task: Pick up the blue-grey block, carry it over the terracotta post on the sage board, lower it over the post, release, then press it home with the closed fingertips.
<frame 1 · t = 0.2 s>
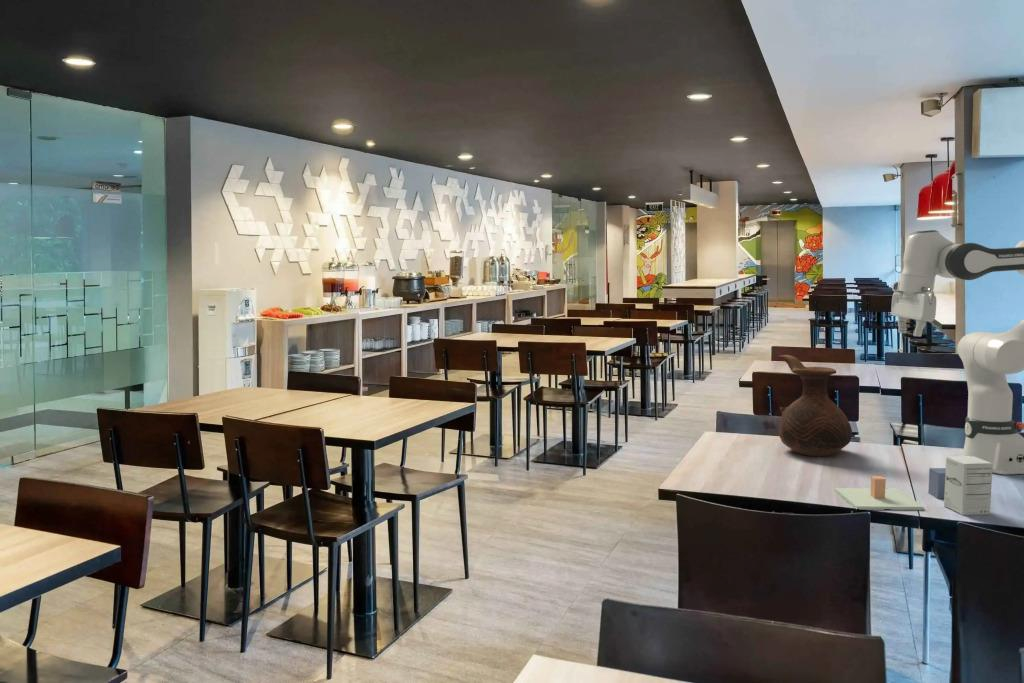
hand: (909, 334, 234), 39 cm above the table, tool pointing down, fingers open, 8 cm apart
jug: (813, 452, 257), on the table
blue-grey block: (943, 495, 209), on the table
supplement box: (966, 511, 197), on the table
post board: (877, 500, 206), on the table
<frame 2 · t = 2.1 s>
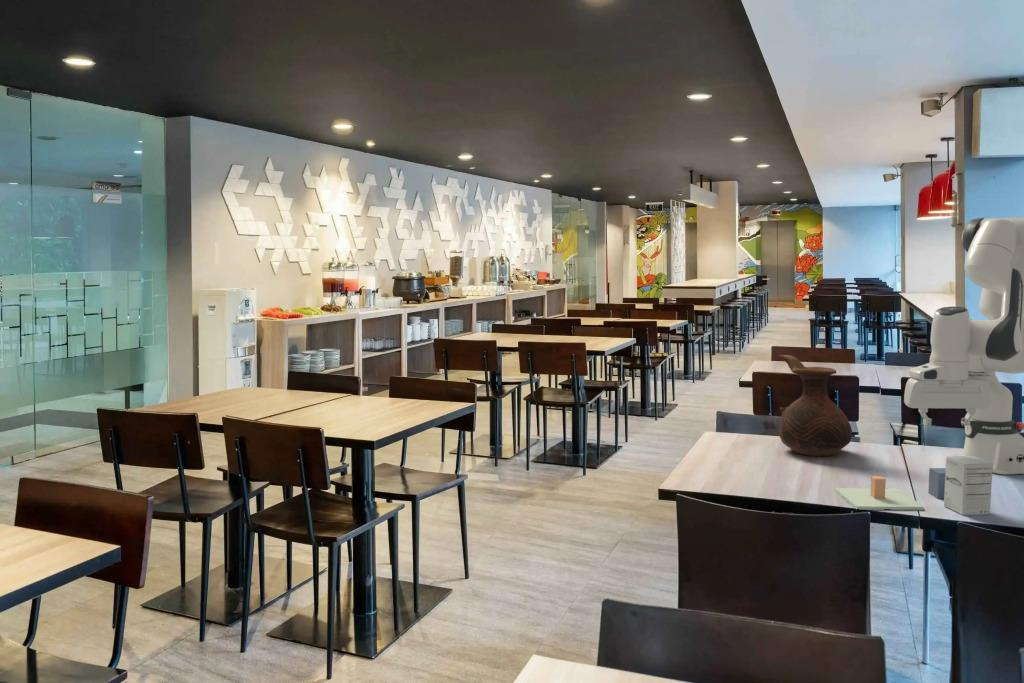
hand: (946, 425, 207), 18 cm above the table, tool pointing down, fingers open, 8 cm apart
nothing on the table moved.
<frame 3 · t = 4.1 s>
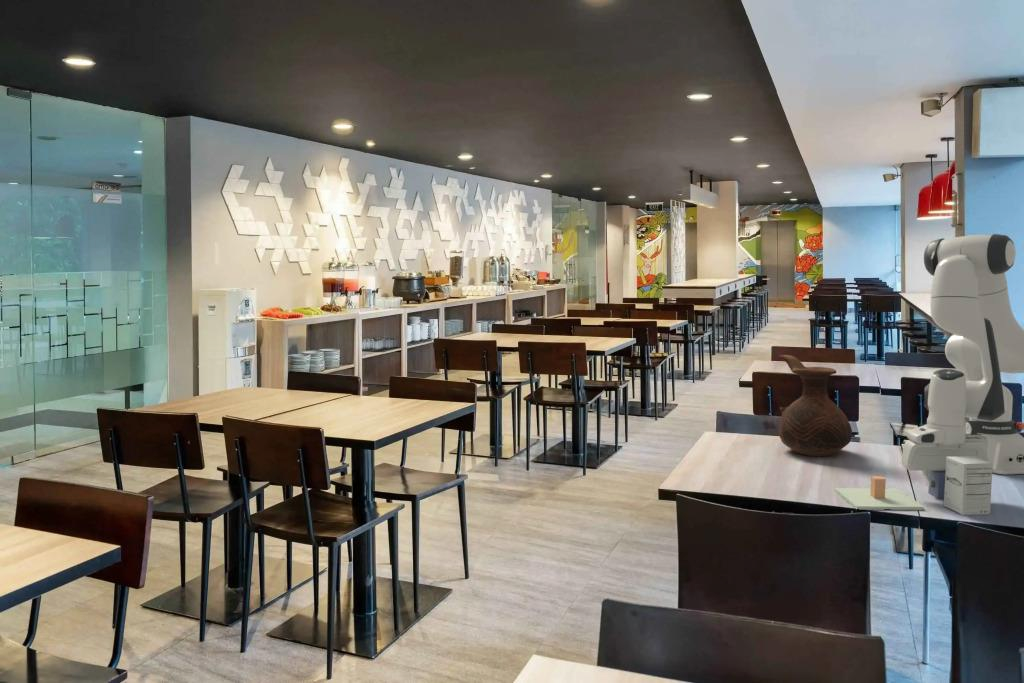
hand: (943, 487, 208), 2 cm above the table, tool pointing down, fingers closed on blue-grey block, 5 cm apart
blue-grey block: (943, 495, 209), on the table, touching gripper
everything else where it was.
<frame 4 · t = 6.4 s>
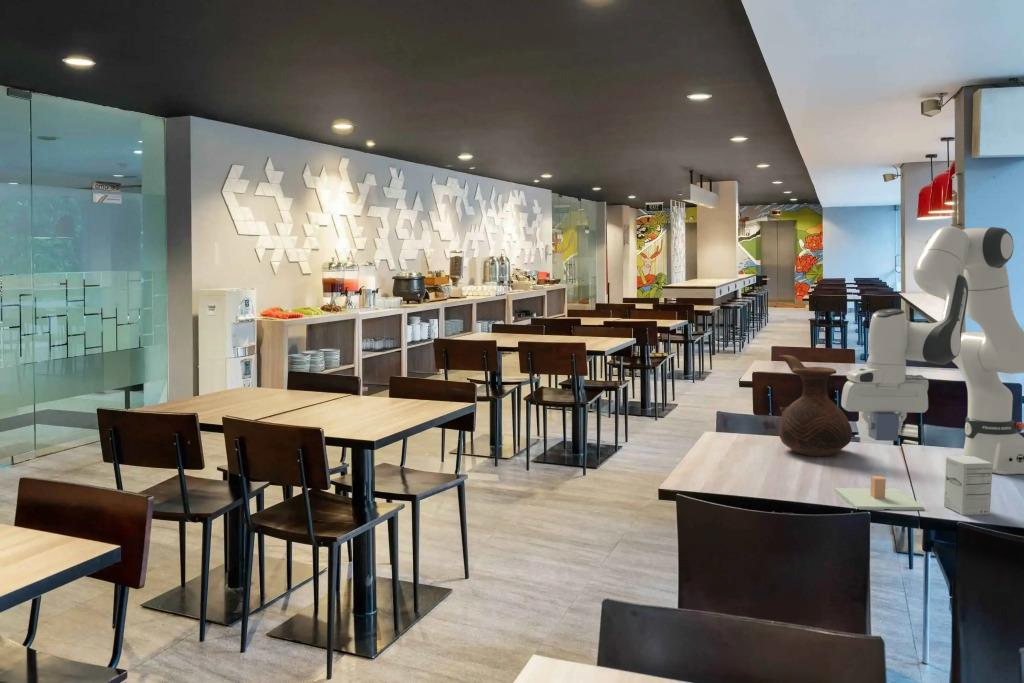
hand: (883, 429, 204), 18 cm above the table, tool pointing down, fingers closed on blue-grey block, 5 cm apart
blue-grey block: (882, 438, 204), point 16 cm above the table, touching gripper
everything else where it was.
when the fingers open (5 cm above the table, at t = 9.0 s): blue-grey block drops 1 cm, resting on post board.
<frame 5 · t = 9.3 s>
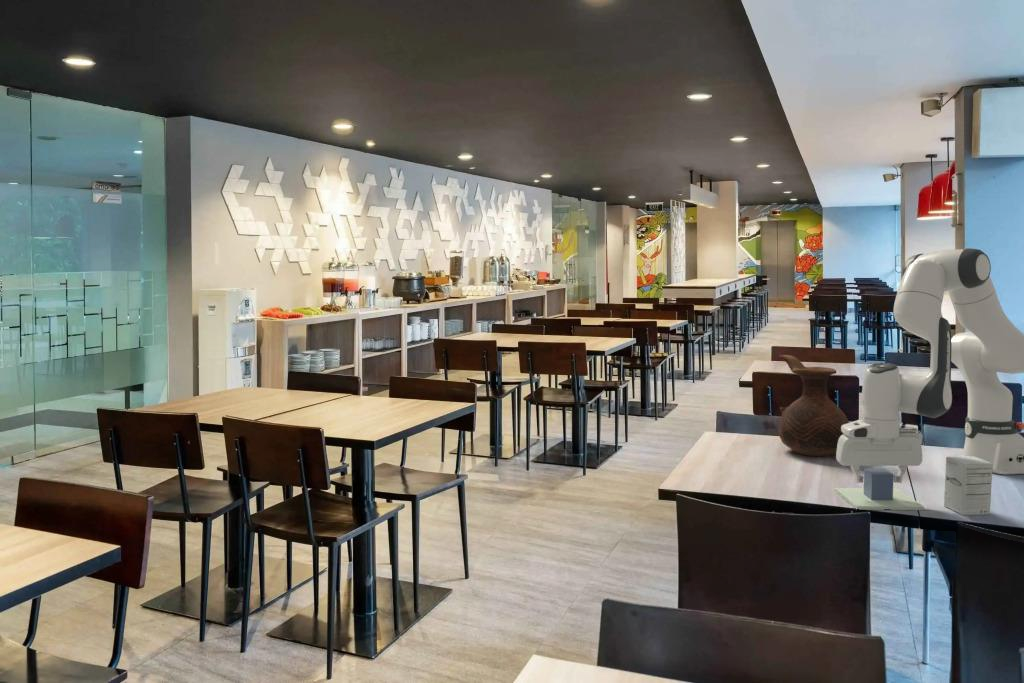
hand: (878, 482, 205), 5 cm above the table, tool pointing down, fingers open, 8 cm apart
blue-grey block: (877, 497, 206), point 1 cm above the table, touching post board
everything else where it was.
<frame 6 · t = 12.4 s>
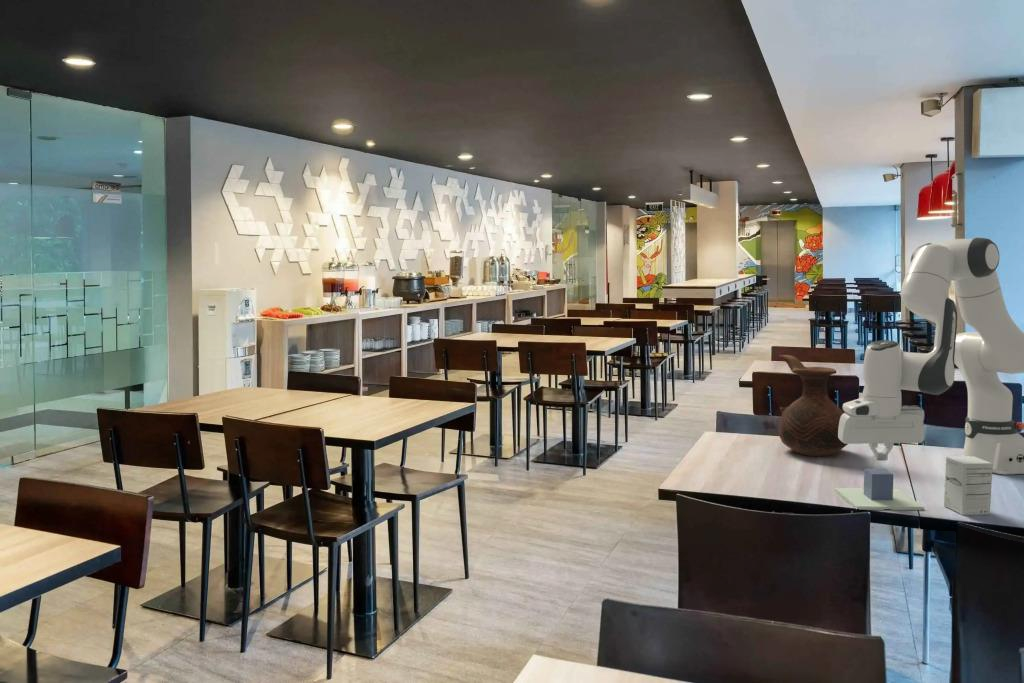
hand: (880, 460, 205), 10 cm above the table, tool pointing down, fingers closed
nothing on the table moved.
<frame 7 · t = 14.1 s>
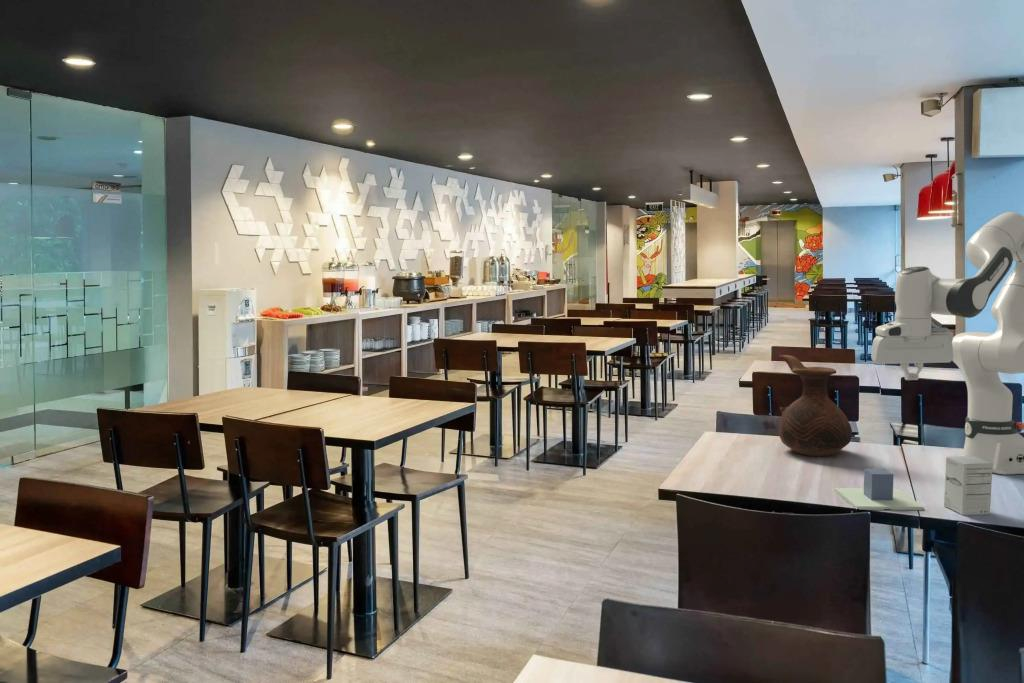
hand: (911, 379, 218), 28 cm above the table, tool pointing down, fingers closed
nothing on the table moved.
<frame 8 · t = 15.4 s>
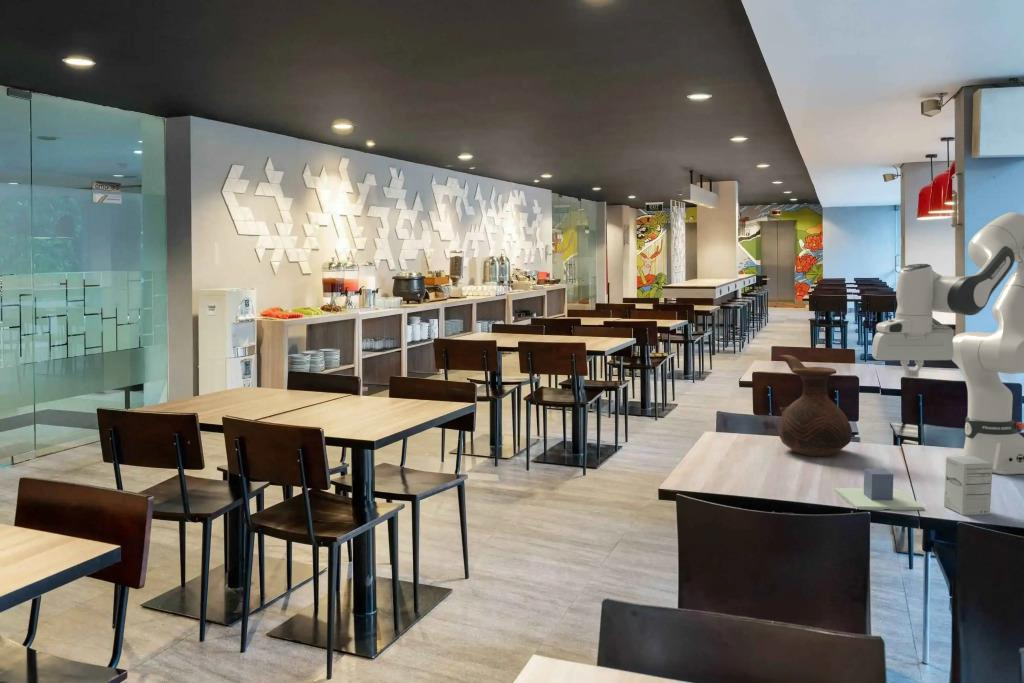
hand: (911, 376, 218), 29 cm above the table, tool pointing down, fingers closed
nothing on the table moved.
at the end: blue-grey block 0.1 cm from the post board (horizontally); blue-grey block point 0.8 cm above the table; the gripper is holding nothing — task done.
